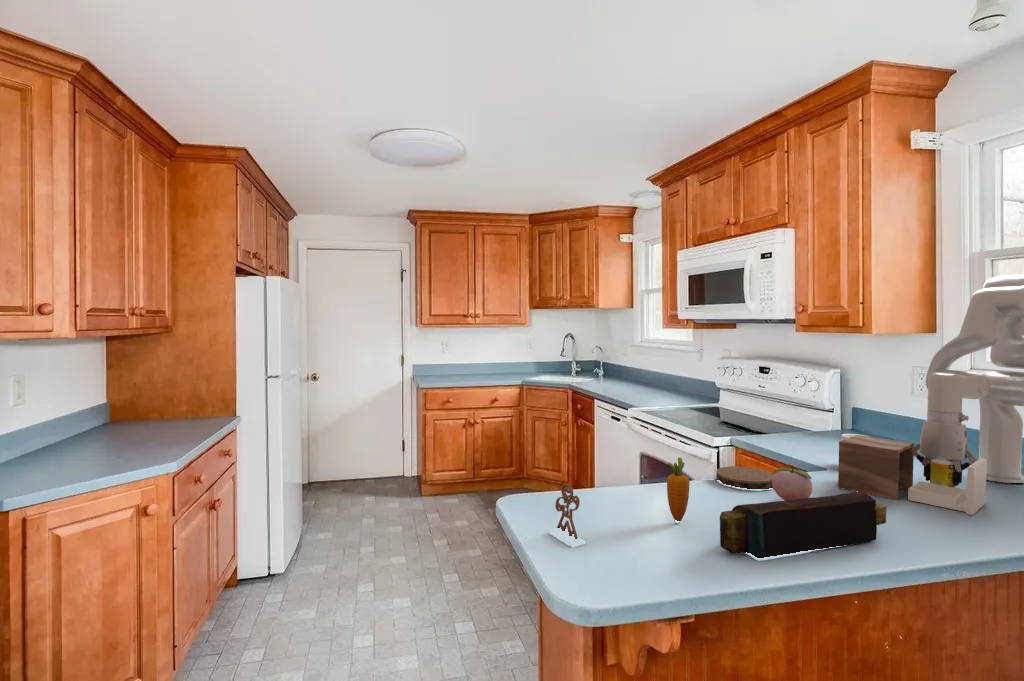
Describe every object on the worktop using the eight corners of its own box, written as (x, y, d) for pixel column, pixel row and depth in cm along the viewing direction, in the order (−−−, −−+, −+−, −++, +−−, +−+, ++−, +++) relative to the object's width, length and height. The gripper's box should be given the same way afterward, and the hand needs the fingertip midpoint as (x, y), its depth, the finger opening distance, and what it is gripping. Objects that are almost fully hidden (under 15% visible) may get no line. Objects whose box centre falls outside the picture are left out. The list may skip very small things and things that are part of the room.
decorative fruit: (817, 504, 142) (818, 465, 142) (807, 512, 136) (808, 471, 136) (778, 496, 148) (778, 459, 148) (767, 504, 142) (768, 465, 142)
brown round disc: (760, 496, 150) (760, 485, 150) (705, 483, 162) (705, 472, 162) (785, 484, 160) (785, 474, 160) (732, 473, 172) (732, 463, 172)
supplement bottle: (950, 493, 151) (951, 455, 151) (926, 488, 156) (927, 451, 155) (958, 489, 154) (959, 453, 154) (934, 485, 159) (935, 449, 158)
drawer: (921, 490, 153) (922, 449, 152) (985, 503, 142) (986, 458, 142) (905, 501, 144) (907, 457, 143) (972, 515, 134) (974, 468, 133)
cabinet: (856, 478, 165) (857, 435, 164) (912, 489, 154) (913, 443, 154) (838, 487, 156) (839, 441, 156) (896, 500, 145) (898, 450, 145)
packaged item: (852, 525, 128) (853, 482, 128) (892, 541, 119) (893, 495, 118) (706, 546, 116) (707, 498, 116) (739, 566, 107) (740, 514, 107)
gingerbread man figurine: (548, 533, 122) (548, 479, 122) (562, 530, 124) (562, 477, 124) (571, 548, 115) (572, 490, 114) (587, 544, 117) (587, 487, 116)
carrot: (677, 528, 125) (678, 462, 125) (661, 521, 130) (662, 457, 129) (693, 525, 128) (694, 460, 127) (677, 518, 132) (678, 455, 131)
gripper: (987, 420, 150) (985, 487, 151) (911, 412, 163) (909, 473, 164) (981, 423, 145) (978, 492, 146) (903, 414, 158) (901, 478, 159)
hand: (942, 481), depth 155 cm, fingers closed on supplement bottle, 5 cm apart
